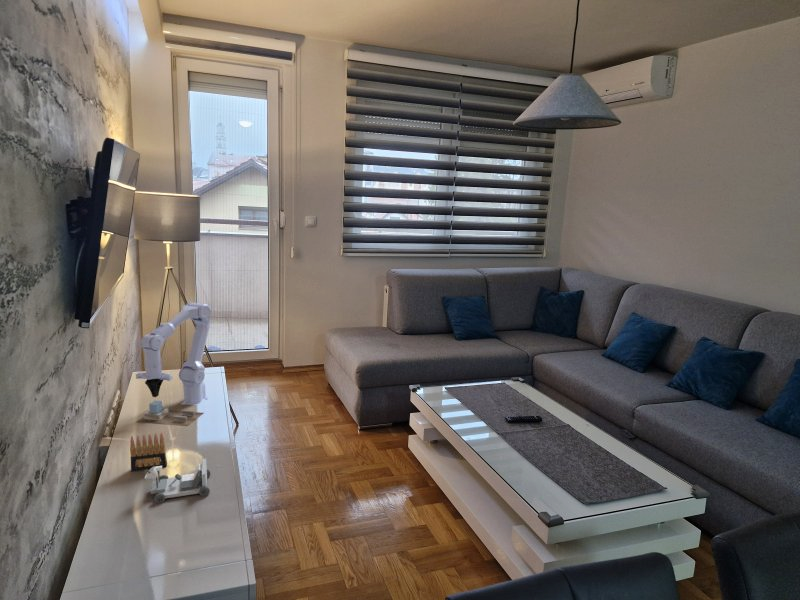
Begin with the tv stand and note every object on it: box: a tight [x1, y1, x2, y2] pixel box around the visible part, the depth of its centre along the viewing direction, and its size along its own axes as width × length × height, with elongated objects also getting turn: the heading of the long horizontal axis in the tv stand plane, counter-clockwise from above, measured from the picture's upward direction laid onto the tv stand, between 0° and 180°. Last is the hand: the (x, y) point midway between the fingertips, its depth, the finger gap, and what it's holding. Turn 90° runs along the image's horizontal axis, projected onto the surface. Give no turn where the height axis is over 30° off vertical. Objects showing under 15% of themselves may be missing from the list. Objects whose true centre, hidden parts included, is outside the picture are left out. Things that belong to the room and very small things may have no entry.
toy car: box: [144, 458, 211, 504], centre depth 158 cm, size 18×10×12 cm
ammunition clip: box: [129, 432, 168, 472], centre depth 170 cm, size 11×2×12 cm, turn 108°
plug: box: [148, 400, 163, 414], centre depth 209 cm, size 4×3×6 cm
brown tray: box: [135, 407, 205, 427], centre depth 209 cm, size 13×22×3 cm, turn 83°
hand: (155, 396), depth 208 cm, fingers closed
